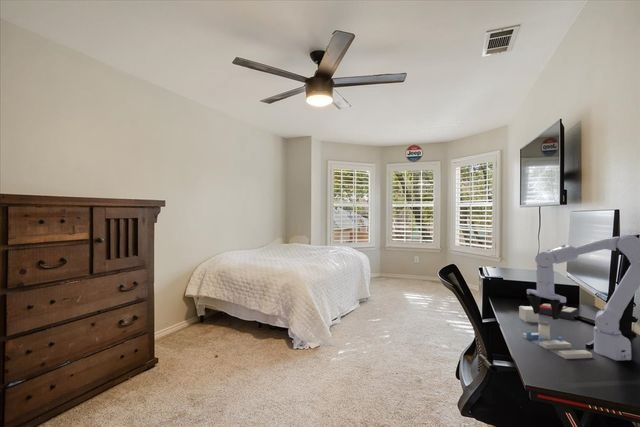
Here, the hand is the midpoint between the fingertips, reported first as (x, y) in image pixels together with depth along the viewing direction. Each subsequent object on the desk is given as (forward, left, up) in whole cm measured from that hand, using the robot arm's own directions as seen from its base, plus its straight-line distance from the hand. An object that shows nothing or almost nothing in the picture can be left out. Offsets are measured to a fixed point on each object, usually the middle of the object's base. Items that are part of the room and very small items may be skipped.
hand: (545, 316), depth 124 cm
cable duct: (-6, +2, -10) cm, 12 cm away
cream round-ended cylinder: (-1, +2, -9) cm, 10 cm away
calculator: (+35, -36, -11) cm, 51 cm away
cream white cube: (+27, -14, -11) cm, 32 cm away
